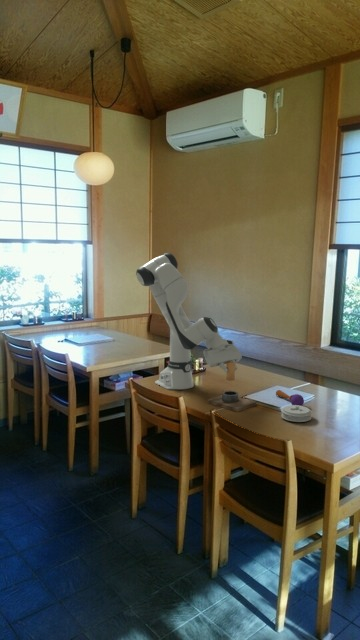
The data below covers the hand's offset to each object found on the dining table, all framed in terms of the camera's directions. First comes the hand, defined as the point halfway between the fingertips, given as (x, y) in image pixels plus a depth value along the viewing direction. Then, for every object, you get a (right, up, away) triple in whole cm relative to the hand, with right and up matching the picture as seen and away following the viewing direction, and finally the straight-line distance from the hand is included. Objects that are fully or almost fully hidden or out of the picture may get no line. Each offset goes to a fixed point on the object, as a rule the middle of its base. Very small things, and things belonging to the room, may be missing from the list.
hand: (231, 370), depth 217 cm
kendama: (+28, -16, +4) cm, 33 cm away
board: (0, -16, +2) cm, 16 cm away
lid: (+26, -19, -18) cm, 37 cm away
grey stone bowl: (0, -14, +2) cm, 15 cm away
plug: (0, -4, +1) cm, 4 cm away
